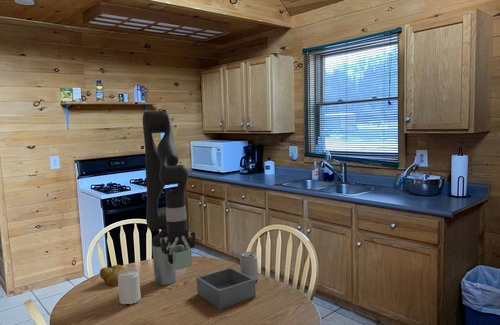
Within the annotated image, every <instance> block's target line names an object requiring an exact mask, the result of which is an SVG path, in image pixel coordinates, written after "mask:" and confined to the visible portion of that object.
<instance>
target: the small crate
mask: <svg viewBox="0 0 500 325" xmlns="http://www.w3.org/2000/svg"><path fill="white" fill-rule="evenodd" d="M167 249H168V248H167ZM172 255H173V264H170V263H169V262H168V257H167V263H168V264H169V265H171V266H172V267H174V268H175V270H177V271H178V270H182V269H185V268H190V267H193V259H192V250H191V249H188V248H186V247H184V246H183V245H180V244H179V245H177V246H175V249H174V250H173V252H172Z"/></svg>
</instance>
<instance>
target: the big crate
mask: <svg viewBox="0 0 500 325" xmlns="http://www.w3.org/2000/svg"><path fill="white" fill-rule="evenodd" d="M196 291H197V292H196V293H197V295H198V296H200V297H201V298H202V299H204V300H206V301H207V302H209V303H210V304H212V305H213V306H214V307H216V308H217V309H219V310H222V309H224V308H227V307H230V306H233V305H235V304H238V303H241V302H244V301H247V300H249V299H251V298H255V297H256V296H257V295H256V281H255V279H253V278H251V277H249V276H247V275H245V274H243V273H241V271H239V270H237V269H235V268H233V267H228V268H224V269H223V268H222V269H220V270H218V271H214V272H210V273H207V274H203V275H200V276H197V277H196Z"/></svg>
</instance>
